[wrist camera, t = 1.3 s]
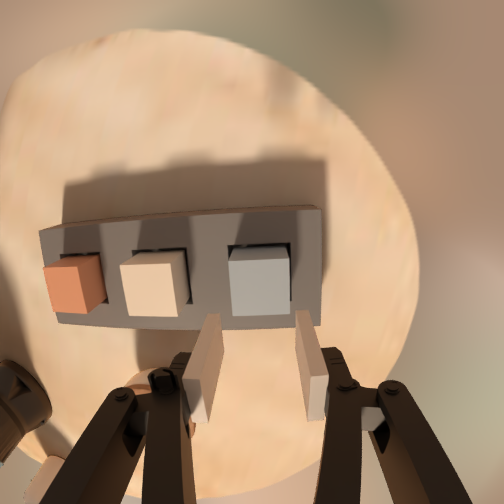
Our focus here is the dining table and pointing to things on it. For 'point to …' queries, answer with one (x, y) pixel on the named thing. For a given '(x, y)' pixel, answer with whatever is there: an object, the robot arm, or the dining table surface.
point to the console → (196, 261)
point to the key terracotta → (76, 283)
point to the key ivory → (155, 283)
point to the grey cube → (259, 281)
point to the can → (43, 480)
